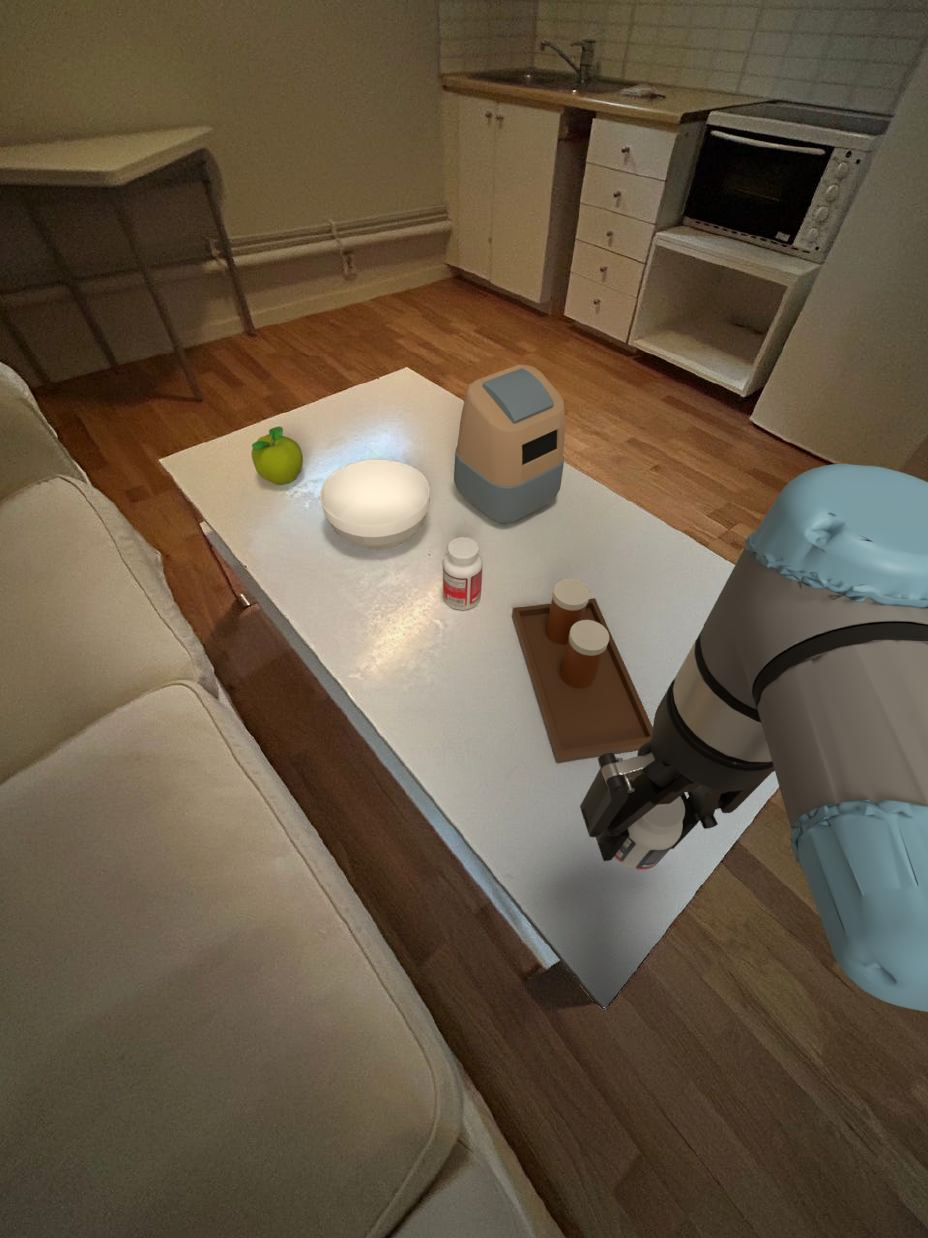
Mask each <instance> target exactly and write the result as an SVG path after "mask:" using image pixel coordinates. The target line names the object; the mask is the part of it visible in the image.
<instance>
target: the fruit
mask: <svg viewBox="0 0 928 1238" xmlns="http://www.w3.org/2000/svg"><path fill="white" fill-rule="evenodd" d="M283 434H284V428H283V426H275V427H272V428H270V429H269V430H268V434H266V435H264V436H260V437H259V438H258V439H257V440H256V441H255V442H253V443H252V444H251V447H252V448H251V459H252V462H253V466H254V469H255V471H256V472H257V474H258V475H259V476H260V478H262V479H264V481H266V482H269V483H271V484H274V485H278V486H282V485H286V484H291V483H293V482H294V481H295V480H296V479H297V477H298V476H299V475H300V473H301V471H302V469H303V468H302V467H303V462H304V456H303V451H302V449H301V446H300V445H299V444H298V442H297V441H296V440H294V439H292V438H291V437H289V436H285V435H283Z"/></svg>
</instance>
